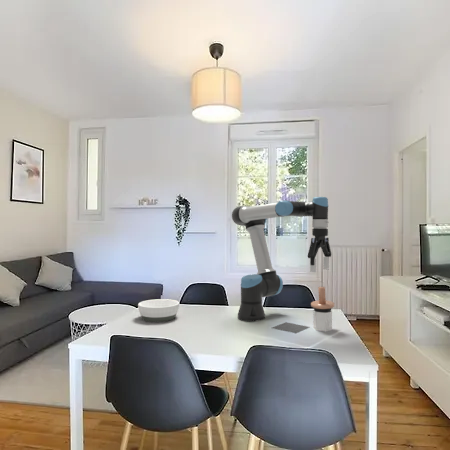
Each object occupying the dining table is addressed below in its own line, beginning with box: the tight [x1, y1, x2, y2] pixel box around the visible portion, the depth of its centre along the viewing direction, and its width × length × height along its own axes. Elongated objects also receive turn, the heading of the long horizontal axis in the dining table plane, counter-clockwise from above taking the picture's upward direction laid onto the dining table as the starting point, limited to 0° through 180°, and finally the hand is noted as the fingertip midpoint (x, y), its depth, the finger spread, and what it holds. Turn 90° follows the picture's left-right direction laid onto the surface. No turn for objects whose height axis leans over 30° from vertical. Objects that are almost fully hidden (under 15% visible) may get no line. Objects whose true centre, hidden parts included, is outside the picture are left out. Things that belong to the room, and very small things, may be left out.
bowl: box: [137, 298, 180, 323], centre depth 199 cm, size 22×22×8 cm
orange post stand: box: [310, 286, 335, 309], centre depth 175 cm, size 11×11×9 cm
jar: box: [312, 308, 333, 332], centre depth 175 cm, size 9×8×12 cm
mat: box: [271, 321, 311, 334], centre depth 177 cm, size 14×14×1 cm
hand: (319, 270), depth 179 cm, fingers open, 13 cm apart
